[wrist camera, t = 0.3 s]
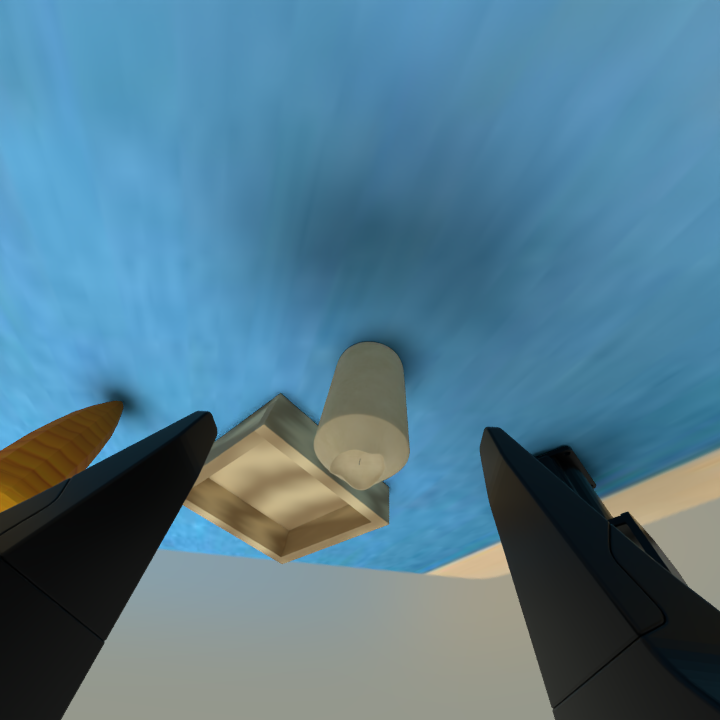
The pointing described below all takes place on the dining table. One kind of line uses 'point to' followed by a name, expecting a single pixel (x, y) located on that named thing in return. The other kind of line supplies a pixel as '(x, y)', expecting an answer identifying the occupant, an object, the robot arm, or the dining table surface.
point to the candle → (365, 417)
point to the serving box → (282, 488)
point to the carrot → (55, 452)
